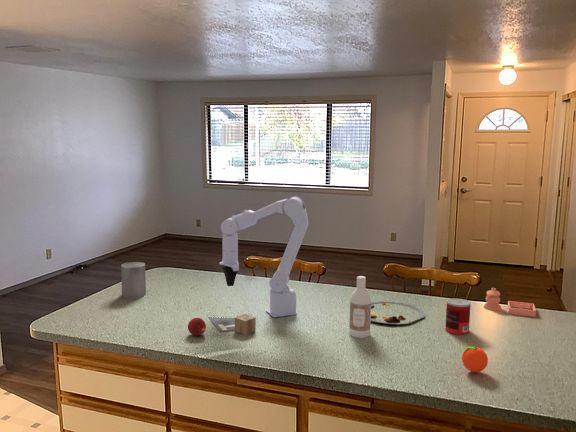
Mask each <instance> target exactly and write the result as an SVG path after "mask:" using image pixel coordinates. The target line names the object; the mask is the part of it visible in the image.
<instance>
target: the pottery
mask: <svg viewBox="0 0 576 432" xmlns="http://www.w3.org/2000/svg"><path fill="white" fill-rule="evenodd" d="M500 296H501V293H500V291H498V290H497V288H495V287H491V290H487V291H486V296H485V301H486V302H485V303H484V304H483V309H485V310H487V311H492V312H498V311H499V312H500V311H502V306H501V305H500V304H499V303H500V302H501V298H500ZM507 308H508V309H507V310H508V314H509V315H516V316H523V317H531V318H536V317H537V309H536V306H535V304H534V303H532V302H531V303H530V302H521V301H512V300H508V301H507Z"/></svg>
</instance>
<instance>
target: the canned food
mask: <svg viewBox="0 0 576 432" xmlns="http://www.w3.org/2000/svg"><path fill="white" fill-rule="evenodd" d="M445 311H446V312H445V313H446V314H445V331H446V332H447V333H448V334H452V335H456V336H464V335H467V334H468V333H470V321H471V320H470V318H471V317H470V316H471V301H469V300H467V299H465V298H464V299H463V298H457V297H456V298H449V299H447V300H446V310H445Z"/></svg>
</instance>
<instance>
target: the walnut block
mask: <svg viewBox="0 0 576 432" xmlns="http://www.w3.org/2000/svg"><path fill="white" fill-rule="evenodd" d="M234 318H235V330H234V332H235V333H237V334H240V335H243V336H248V335H250V334H252V333H254V332H256V327H257V324H256V323H257V319H256V318H257V317H256V316H253V315H250V314H247V313H244V314H241V315H238V316H236V317H234Z"/></svg>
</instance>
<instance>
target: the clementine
mask: <svg viewBox="0 0 576 432" xmlns="http://www.w3.org/2000/svg"><path fill="white" fill-rule="evenodd" d="M460 351H463V353H462V355H461V361H462V362H461V363H462V364H463V366H464V367H465V369H466V370H468V371H469V372H472V373H480V372H483V371H484V370H485V369H486V368H487V366H488V364H489V363H488V362H489V357H488V355H487V353H486V352H485V351H484V350H483V349H482V348H480V347H478V346H465V347H462V348H461V349H460V350H459V352H458V353H460Z"/></svg>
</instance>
